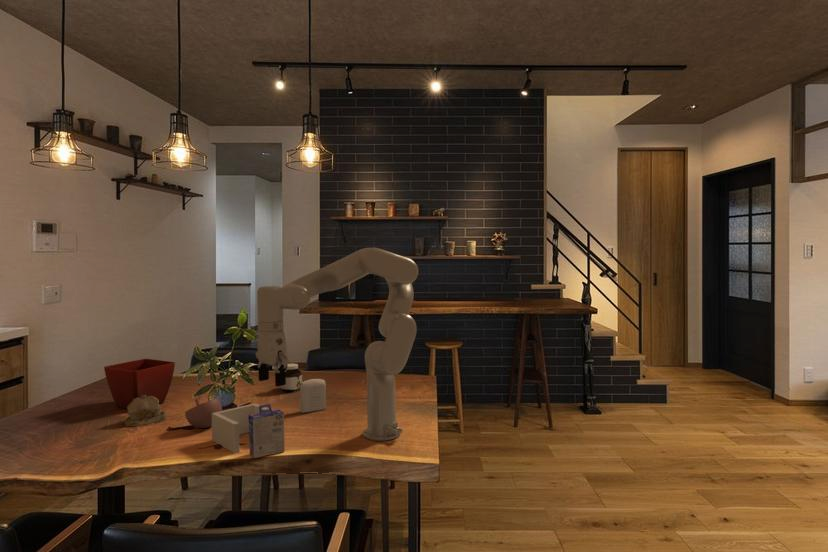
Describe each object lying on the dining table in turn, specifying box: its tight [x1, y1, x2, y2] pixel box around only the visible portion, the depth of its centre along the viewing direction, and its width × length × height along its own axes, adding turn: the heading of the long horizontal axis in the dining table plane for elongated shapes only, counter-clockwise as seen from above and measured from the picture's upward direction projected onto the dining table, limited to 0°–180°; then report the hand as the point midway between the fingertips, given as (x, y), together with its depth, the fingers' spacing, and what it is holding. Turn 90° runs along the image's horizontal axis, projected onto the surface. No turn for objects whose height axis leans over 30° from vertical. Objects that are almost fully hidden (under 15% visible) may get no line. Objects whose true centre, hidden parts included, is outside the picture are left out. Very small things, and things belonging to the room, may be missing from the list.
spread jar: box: [278, 363, 303, 393], centre depth 228 cm, size 12×11×12 cm
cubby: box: [211, 403, 269, 454], centre depth 164 cm, size 16×16×9 cm
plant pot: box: [103, 358, 176, 409], centre depth 205 cm, size 19×19×17 cm
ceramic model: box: [122, 395, 167, 427], centre depth 184 cm, size 14×11×10 cm
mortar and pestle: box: [184, 394, 223, 429], centre depth 177 cm, size 12×12×12 cm
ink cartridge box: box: [248, 403, 286, 459], centre depth 153 cm, size 10×6×14 cm, turn 124°
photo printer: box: [299, 378, 327, 414], centre depth 196 cm, size 10×4×12 cm, turn 123°
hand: (272, 382), depth 151 cm, fingers open, 9 cm apart
